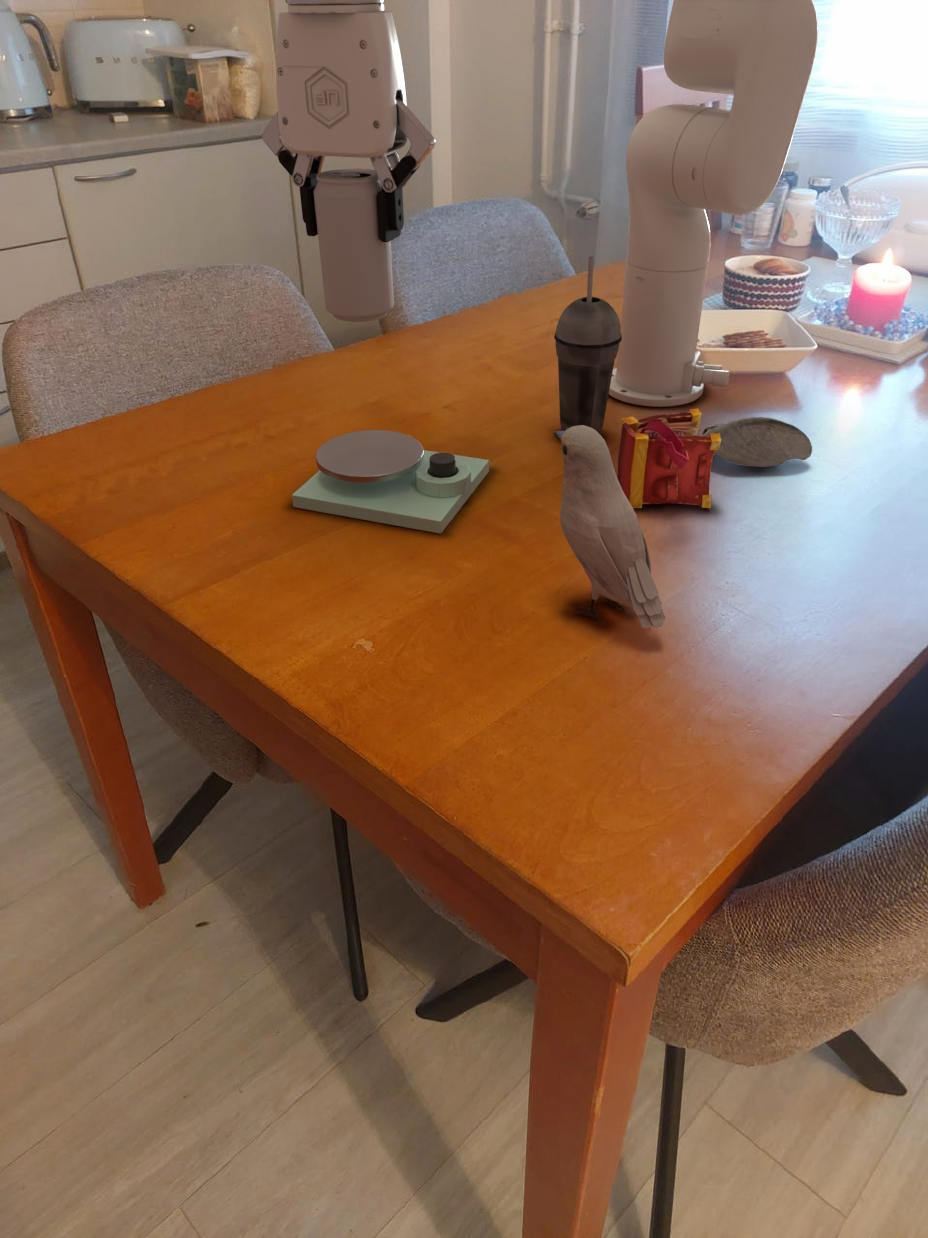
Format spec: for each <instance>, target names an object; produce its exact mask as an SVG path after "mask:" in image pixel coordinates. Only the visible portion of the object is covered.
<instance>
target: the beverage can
mask: <svg viewBox="0 0 928 1238" xmlns="http://www.w3.org/2000/svg"><path fill="white" fill-rule="evenodd" d="M316 178H317V180H318V183H317V185H316V187H315V189H314V201H315V211H316V221H317V230H318V235H317V238H318V249H319V258H320V259H319V260H320V268H321V277H322V287H323V295H324V296H323V297H324V306H325V310H326V311H327V312H328V313H330V314H331V315H332V316H333V317H334V318H335V319H336V320H338V321H342V322H348V323H349V322H351V323H363V322H364V323H365V322H372V321H377V320H380V319H383V318H384V317H386V316H387V315H388V314H389V312H390V311H391V310H392V309H394V306H395V296H394V278H393V277H394V276H393V264H392V263H393V261H392V260H393V259H392V244H391V241H389V242H382V241H381V240H380V239H379V228H378V212H377V193H378V192H380V191H382V186H381V183H380V180H379V178H378V176H377V173H376V171H375V169H371V168H340V169H331V170H325V171H321V172H320V173H319V174H317V175H316Z"/></svg>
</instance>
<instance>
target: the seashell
mask: <svg viewBox="0 0 928 1238" xmlns="http://www.w3.org/2000/svg"><path fill="white" fill-rule="evenodd" d="M710 433H720V437H721V444H720V447H719V450H715V452H714V456H719V457H721V458H722V460H723V461H725V462H728V463H731V464H735V465H739V466H746V467H747V466H748V467H756V468H759V467H760V468H766V467H772V466H773V467H774V466H779V465H782V464H784V463H785V462H788V461H791V460H799V461H806V460H807V459H810V457H811V456H812V453H813V445H812V443H811V440H810V439H809V437H808V436H807V434H806V433H805V432H804V431H802V430H801V429H800V428H798V427H797V426H795V425H793V424H791V423H788V422H786V421H784V420H783V421H782V420H780V419H776V418H772V417H764V416H750V417H743V418H739V419H734V420H729V421H728V422H725V423H715V424H710V425H706V426H705V427H704V428H703V430H702V432H701V435H700V436H710Z"/></svg>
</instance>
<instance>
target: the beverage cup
mask: <svg viewBox="0 0 928 1238" xmlns="http://www.w3.org/2000/svg"><path fill="white" fill-rule="evenodd" d="M594 259H595V257H594V256H593V255H590V256H588V264H587V265H588V269H587V284H586V285H587V286H586V290H587V291H586V296H584V297H580V298H577V299H575V300H573V301H572V302H571V303H569V304H568V305H567V306H566V307H565V308H564V310H563V311H562V313H561V315H559V319H558V321H557V324H556V329H555V333H554V335H553V338H554V341H555V351H556V357H557V369H558V396H559V397H558V399H559V401H558V402H559V424H560V431H566V430H567V429H569V428H570V427H573V426H580V425H584V426H587V427H590V428H593V429H594V430H596V431H597V432H598V433H599V434H600V435H601V434H602V432H603V426H604V424H605V418H606V411H607V406H608V400H609V396H610V395H609V389H610V383H611V378H612V372H613V369H614V366H615V360H616V359H617V357H618V349H619V343H620V342H621V341H622V335H621V326H620V325H621V320H620V318H619V315H618V314H617V311H616V310H615V309H614V307H613V306H612V305H611V304H610V303H609V302H607V301H606V300H604V299H603V298H600V297H597V296H593V281H594ZM601 436H602V435H601Z"/></svg>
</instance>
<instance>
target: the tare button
mask: <svg viewBox="0 0 928 1238" xmlns="http://www.w3.org/2000/svg"><path fill="white" fill-rule="evenodd" d="M454 455H455V454H452V453H451V452H439V453H436V454H433V455H432V456H430V459H429V461H430V475H431V476H433V477H437V478H448V477H452V476H454V475H455V474H456V458H455V456H454Z"/></svg>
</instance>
